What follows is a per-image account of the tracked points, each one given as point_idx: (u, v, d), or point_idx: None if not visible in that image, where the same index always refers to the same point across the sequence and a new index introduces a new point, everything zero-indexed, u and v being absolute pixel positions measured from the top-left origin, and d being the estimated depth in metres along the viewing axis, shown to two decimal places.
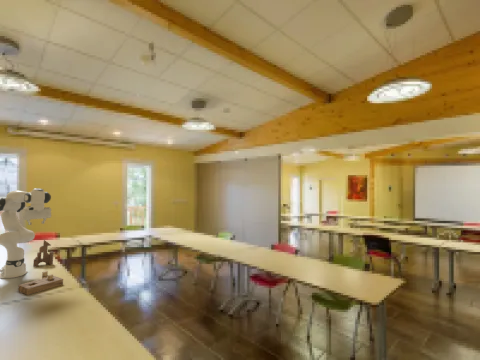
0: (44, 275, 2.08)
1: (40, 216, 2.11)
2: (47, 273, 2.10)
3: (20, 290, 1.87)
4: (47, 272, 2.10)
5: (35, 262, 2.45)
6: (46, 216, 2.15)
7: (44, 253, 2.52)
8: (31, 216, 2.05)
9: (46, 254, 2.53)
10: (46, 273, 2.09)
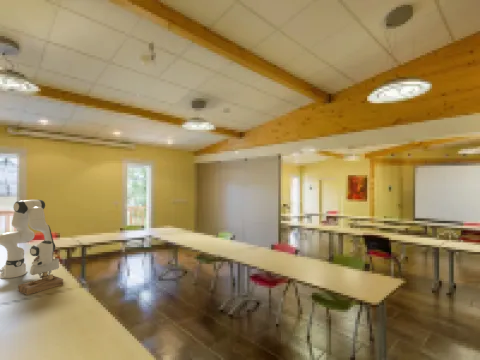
0: (44, 275, 2.08)
1: (48, 269, 2.10)
2: (47, 273, 2.10)
3: (20, 290, 1.87)
4: (47, 272, 2.10)
5: None
6: (54, 268, 2.14)
7: None
8: (40, 270, 2.04)
9: None
10: (46, 273, 2.09)
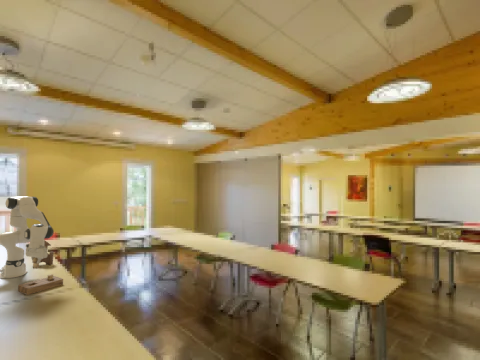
0: (33, 260, 1.93)
1: (35, 255, 1.92)
2: (35, 259, 1.92)
3: (20, 290, 1.87)
4: (35, 258, 1.92)
5: None
6: (39, 256, 1.91)
7: None
8: (30, 254, 1.94)
9: None
10: (33, 259, 1.92)
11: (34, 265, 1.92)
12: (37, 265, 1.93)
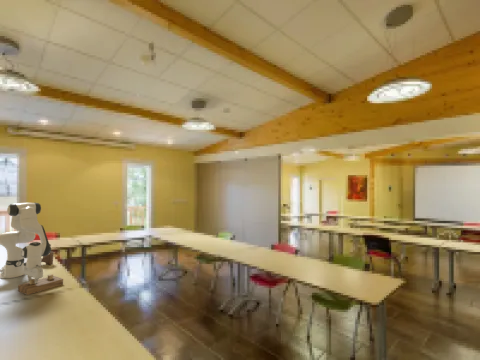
0: None
1: (31, 274, 1.89)
2: (31, 282, 1.90)
3: (20, 290, 1.87)
4: (31, 281, 1.90)
5: None
6: (34, 276, 1.87)
7: None
8: (27, 272, 1.92)
9: None
10: (30, 281, 1.90)
11: None
12: None
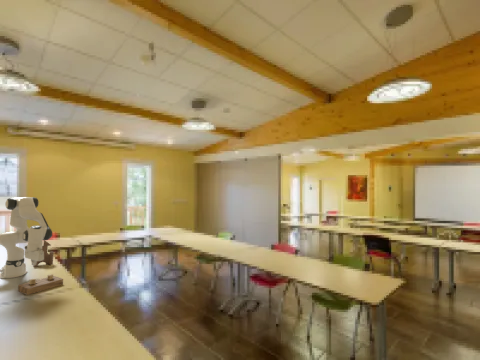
0: None
1: (32, 257, 1.90)
2: (31, 282, 1.90)
3: (20, 290, 1.87)
4: (31, 281, 1.90)
5: None
6: (36, 259, 1.88)
7: (44, 253, 2.52)
8: (28, 255, 1.93)
9: (46, 254, 2.53)
10: None
11: None
12: None
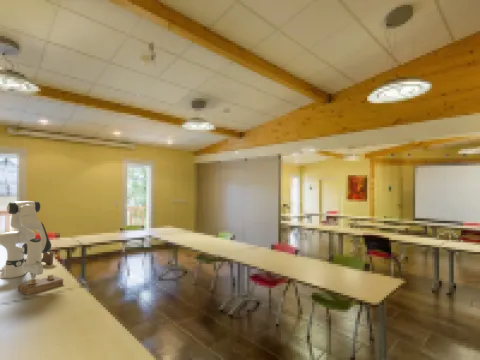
0: None
1: (32, 271, 1.89)
2: (31, 282, 1.90)
3: (20, 290, 1.87)
4: (31, 281, 1.90)
5: None
6: (35, 272, 1.87)
7: (44, 253, 2.52)
8: (27, 269, 1.92)
9: (46, 254, 2.53)
10: (30, 281, 1.90)
11: None
12: None
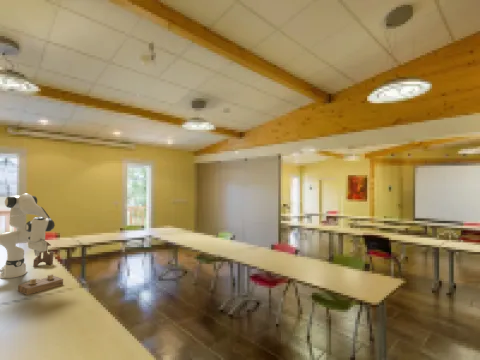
0: None
1: (35, 248, 1.93)
2: (31, 282, 1.90)
3: (20, 290, 1.87)
4: (31, 281, 1.90)
5: (35, 262, 2.45)
6: (38, 249, 1.91)
7: (44, 253, 2.52)
8: (31, 246, 1.96)
9: (46, 254, 2.53)
10: (30, 281, 1.90)
11: None
12: None
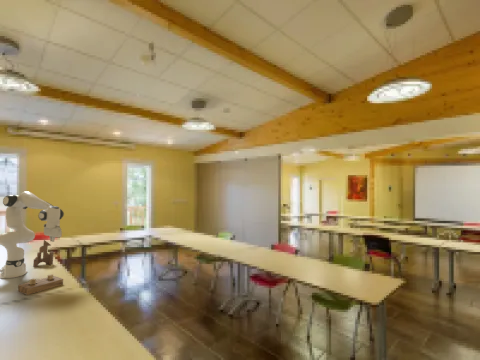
0: None
1: (51, 234, 2.10)
2: (30, 282, 1.89)
3: (20, 290, 1.87)
4: (30, 281, 1.89)
5: (35, 262, 2.45)
6: (54, 235, 2.08)
7: (44, 253, 2.52)
8: (47, 233, 2.13)
9: (46, 254, 2.53)
10: None
11: None
12: None
